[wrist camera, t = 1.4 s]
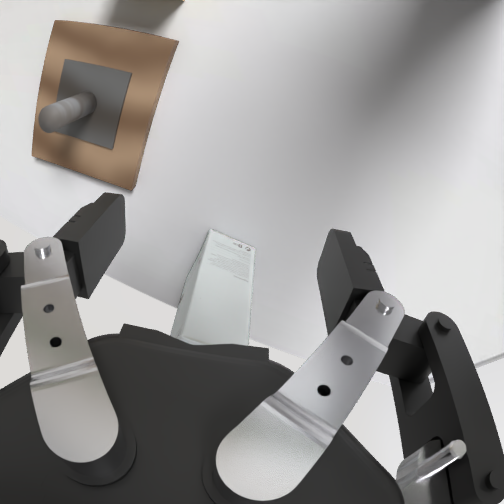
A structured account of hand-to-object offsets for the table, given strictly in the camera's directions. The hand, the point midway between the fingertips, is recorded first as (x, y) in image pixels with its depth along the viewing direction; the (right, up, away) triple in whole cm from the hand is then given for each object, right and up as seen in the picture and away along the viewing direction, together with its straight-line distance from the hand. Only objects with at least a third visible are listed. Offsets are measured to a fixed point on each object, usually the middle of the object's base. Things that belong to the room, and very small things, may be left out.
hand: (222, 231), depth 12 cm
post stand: (-15, +15, +15) cm, 26 cm away
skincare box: (-3, -2, +26) cm, 26 cm away
